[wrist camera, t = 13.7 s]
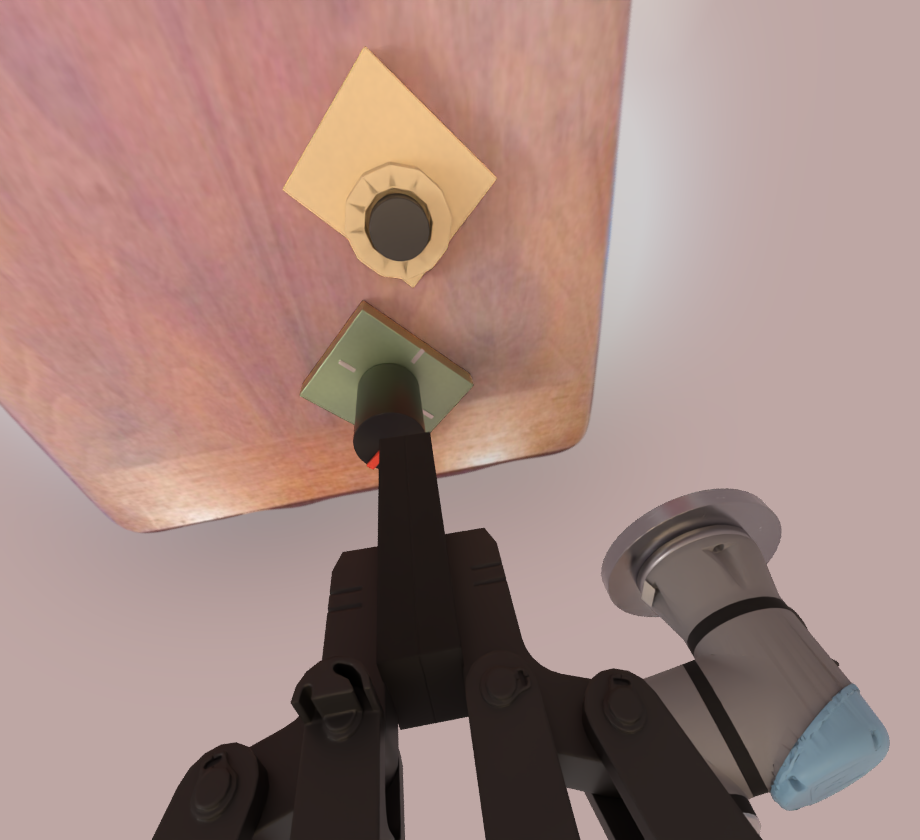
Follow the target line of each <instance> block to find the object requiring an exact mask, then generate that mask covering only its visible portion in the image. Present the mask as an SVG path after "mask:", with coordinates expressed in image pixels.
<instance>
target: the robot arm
mask: <svg viewBox="0 0 920 840" xmlns="http://www.w3.org/2000/svg"><path fill="white" fill-rule="evenodd" d="M637 586H638V589H639V590H640V592H641V594H642V599H643V600H644V601H645V602H646V603H647V604H648V605H649V606H650V607H651V608H652V609H653V610H654V611H655V612H656V613H657V614H658V615H659V616H660V617H661V618H662V619H663V620H664V621H665V622H666V623H667V624H668V625H669V626H670V627H671V628H672V629H673V630H674V631H675V632H676V633H677V634H678V635H679V636H680V637H681V638H682V639H683V640H684V641H685V643H686V644H687V646H688V648H689V649H690V651H691V653H692V654H693V656H694V658H695V660H693V661H690V662H688V663H685V664H682V665H680V666H677V667H675V668H672V669H670V670H667V671H664V672H661V673H659V674H656V675H653V676H650V677H648V678H645V679H642V678H640V677H639V676H636V675H635V674H633V673H631V672H629V671H625V670H620V669H609V670H605V671H601V672H600V673H598V674H597V675H596V676H594V677H593V678H592V679H588V678H582V677H576V676H571V675H565V674H560V673H557V672H554V671H551V670H549V669H547V668H545V667H543V666H542V665H540V664H539V663H538V662H537V661H536V660H535V659H534V658H532V656H531V655H530V653H529V652H528V651H527V649H526V647H525V645H524V642H523V640H522V637H521V633H520V629H519V625H518V622H517V618H516V615H515V610H514V607H513V603H512V599H511V595H510V591H509V588H508V584H507V581H506V577H505V573H504V569H503V565H502V562H501V558H500V554H499V550H498V546H497V543H496V541H495V540H494V539H493V538H492V537H491V536H490V534H489V533H488V532H487V531H486V529H485V528H481V529H474V530H468V531H462V532H455V533H450V534H445V532H444V525H443V519H442V512H441V505H440V498H439V491H438V484H437V477H436V471H435V464H434V457H433V450H432V443H431V436H430V432H424V433H418V434H411V435H404V436H397V437H390V438H384V439H379V496H378V546H377V547H371V548H365V549H359V550H353V551H347V552H343V553H342V554H341V556H340V558H339V560H338V562H337V564H336V565H335V567H334V569H333V571H332V577H331V586H330V596H329V604H328V613H327V621H326V630H325V639H324V647H323V656H322V661H320V662H319V663H317V664H316V665H314V666H313V667H312V668H311V669H309V670H308V671H307V672H306V673H305V674H304V676H303V677H302V679H301V680H300V682H299V683H298V684H297V686H296V688H295V691H294V694H293V697H292V700H291V704H292V706H293V707H294V709H295V710H296V712H297V713H298V715H299V717H298V718H297V719H296V720H295V721H293V722H292V723H290V724H289V725H287V726H286V727H284V728H283V729H281V730H279V731H278V732H276V733H274V734H273V735H270V736H269V737H267V738H265V739H263V740H261V741H260V742H258V743H256V744H254V745H252V746H251V747H247V746H245V745H242V744H239V743H237V742H236V743H229V744H223V745H220V746H218V747H216V748H214V749H213V750H210V751H209V752H207V753H205V754H204V755H203V756H202V757H201V758H200V759H199V760H198V761H197V762H196V763H195V764H194V765H192V766H191V767H190V769H189V770H188V772H187V773H186V775H185V776H184V778H183V779H182V781H181V783H180V784H179V786H178V787H177V789H176V791H175V793H174V796H173V797H172V800H171V802H170V804H169V806H168V808H167V810H166V812H165V814H164V816H163V818H162V820H161V822H160V824H159V826H158V828H157V830H156V832H155V834H154V836H153V838H152V840H405V828H404V827H405V825H404V794H403V765H402V760H401V755H400V751H399V749H398V724H399V727H400V729H401V730H402V729H407V728H413V727H418V726H423V725H428V724H432V723H438V722H443V721H448V720H454V719H459V718H463V717H469V723H470V729H471V737H472V744H473V750H474V758H475V766H476V773H477V780H478V787H479V793H480V794H479V795H480V802H481V809H482V816H483V823H484V830H485V838H486V840H580V837H579V833H578V829H577V826H576V822H575V818H574V814H573V811H572V807H571V803H570V800H569V796H568V792H567V788H571V789H576V790H580V791H584V792H585V794H586V796H587V798H588V800H589V802H590V804H591V806H592V808H593V810H594V812H595V814H596V816H597V818H598V820H599V822H600V824H601V826H602V828H603V830H604V832H605V834H606V836H607V838H608V840H762V838H761V837H760V836H759V834H760V829H761V824H760V821H759V819H758V817H757V816H756V814H755V812H754V810H753V808H752V806H751V804H750V802H749V801H748V799H750V798H753V797H755V796H758V795H761V794H764V793H768V792H770V793H771V796H772V798H773V799H774V801H775V802H777V803H778V804H779V805H780V806H781V807H782V808H784V809H785V810H789V811H790V810H798V809H800V808H801V807H804V806H808V805H812V804H815V803H817V802H819V801H821V800H823V799H826V798H828V797H829V796H832V795H833V794H835V793H837V792H839V791H840V790H842V789H844V788H846V787H847V786H849V785H851V784H852V783H854V782H855V781H857V780H858V779H860V778H861V777H863V776H864V775H866V774H867V773H868V772H869V771H871V770H872V769H873V768H874V767H875V766H877V765H878V764H879V763H880V762H881V760H883V758H884V757H885V756H886V754H887V752H888V750H889V744H890V742H889V736H888V733H887V730H886V728H885V727H884V725H883V724H882V722H881V721H880V720H879V718H878V717H877V716H876V714H875V713H874V712H873V710H872V709H871V708H870V706H869V705H868V704H867V703H866V701H865V700H864V699H863V697H862V696H861V695H860V690H859V689H858V687H857V686H856V685H854V684H853V683H851V682H850V681H849V680H848V678H847V677H846V676H845V675H844V673H843V672H842V671H841V670H840V669H839V667H838V666H839V663H838V662H837V661H835V660H833V659H831V658H830V657H829V655H828V654H827V653H826V652H825V651H824V649H823V648H822V647H821V646H820V644H819V643H818V642H817V641H816V640H815V638H813V636H812V635H811V634H810V632H809V631H808V630H807V627H806V626H805V624H804V622H803V621H802V619H801V618H800V617H799V615H798V614H797V613H796V612H795V611H794V610H793V609H791V608H790V607H788V606H787V605H786V604H785V602H784V601H783V600H782V599H781V597H780V596H779V594H778V592H777V589H776V587H775V584H774V582H773V579H772V577H771V574H770V572H769V570H768V567H767V565H766V562H765V560H764V557H763V555H762V552H761V550H760V549H759V547H758V546H757V544H756V542H755V541H754V540H753V539H752V538H751V537H750V535H749V534H748V533H747V532H746V531H744V530H743V529H741V528H739V527H735V526H730V525H713V526H707V527H702V528H698V529H695V530H692V531H689V532H687V533H684V534H682V535H680V536H678V537H676V538H674V539H672V540H670V541H669V542H667V543H665V544H664V545H663V546H661V547H660V548H659V549H657V550H656V551H655V552H654V553H653V554H652V555H651V556H650V557H649V558H648V559H647V560H646V561H645V563H644V564H643V566H642V567H641V569H640V571H639V574H638V577H637ZM566 787H567V788H566Z"/></svg>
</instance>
